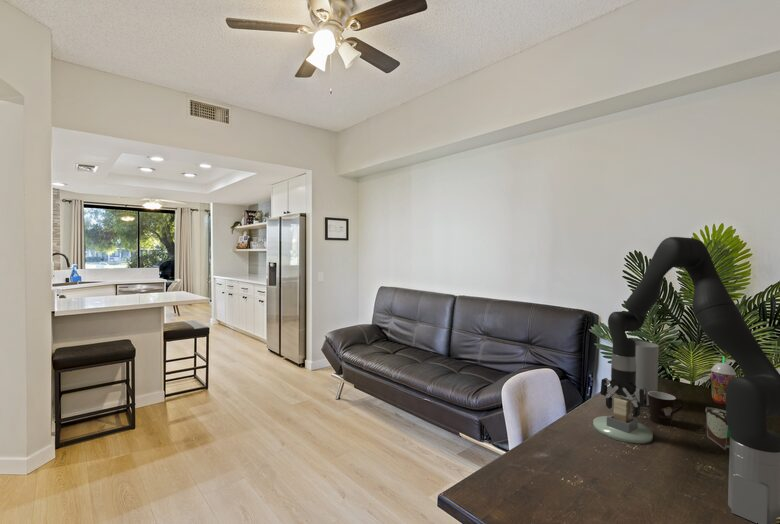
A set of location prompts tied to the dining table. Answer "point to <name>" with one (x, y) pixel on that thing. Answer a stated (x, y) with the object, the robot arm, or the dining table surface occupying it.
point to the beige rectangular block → (622, 409)
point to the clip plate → (623, 430)
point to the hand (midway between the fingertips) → (622, 412)
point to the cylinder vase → (646, 367)
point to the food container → (718, 427)
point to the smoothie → (721, 381)
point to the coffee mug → (662, 407)
